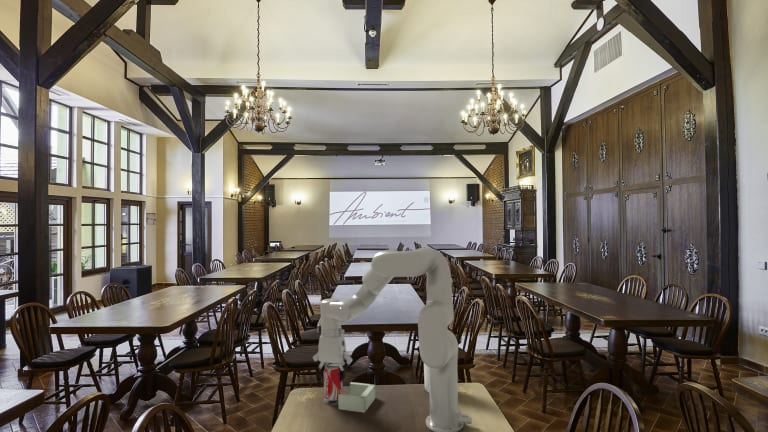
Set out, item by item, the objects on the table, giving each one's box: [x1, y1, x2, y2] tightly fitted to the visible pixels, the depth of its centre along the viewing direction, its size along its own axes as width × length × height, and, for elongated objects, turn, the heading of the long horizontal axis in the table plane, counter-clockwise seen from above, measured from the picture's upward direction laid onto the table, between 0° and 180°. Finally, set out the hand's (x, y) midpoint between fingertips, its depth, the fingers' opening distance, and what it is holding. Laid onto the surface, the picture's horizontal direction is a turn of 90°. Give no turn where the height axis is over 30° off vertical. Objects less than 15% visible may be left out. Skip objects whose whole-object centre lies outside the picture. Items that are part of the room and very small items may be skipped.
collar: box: [338, 381, 377, 413], centre depth 152 cm, size 10×12×5 cm
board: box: [322, 397, 339, 406], centre depth 154 cm, size 16×12×2 cm
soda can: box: [323, 363, 344, 401], centre depth 155 cm, size 7×7×12 cm
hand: (332, 378), depth 155 cm, fingers closed on soda can, 6 cm apart
